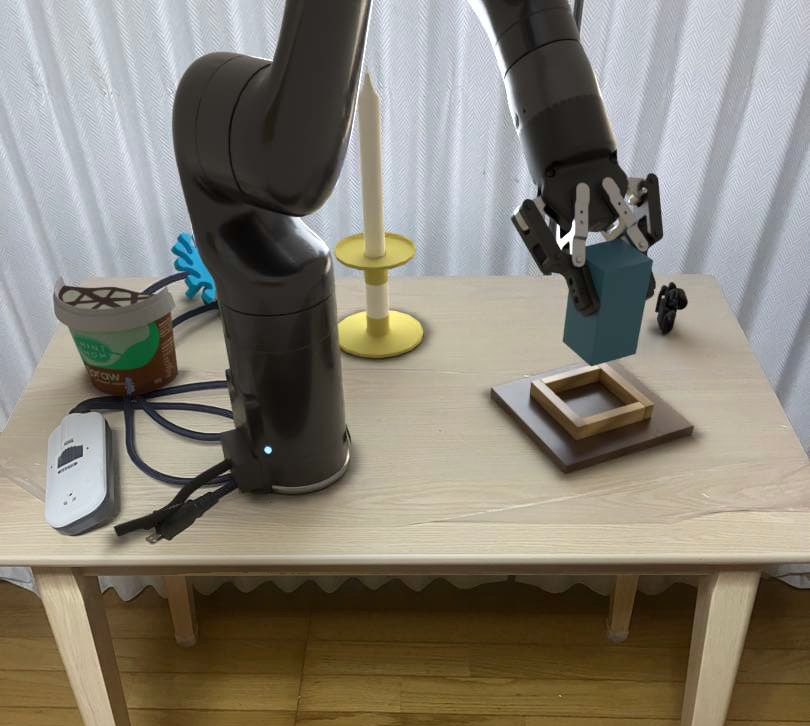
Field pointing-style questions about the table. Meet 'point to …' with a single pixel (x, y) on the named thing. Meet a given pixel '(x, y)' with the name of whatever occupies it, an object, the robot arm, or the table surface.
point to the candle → (375, 251)
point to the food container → (120, 335)
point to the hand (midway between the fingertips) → (619, 305)
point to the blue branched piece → (193, 268)
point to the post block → (610, 303)
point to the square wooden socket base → (590, 414)
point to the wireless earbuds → (669, 306)
